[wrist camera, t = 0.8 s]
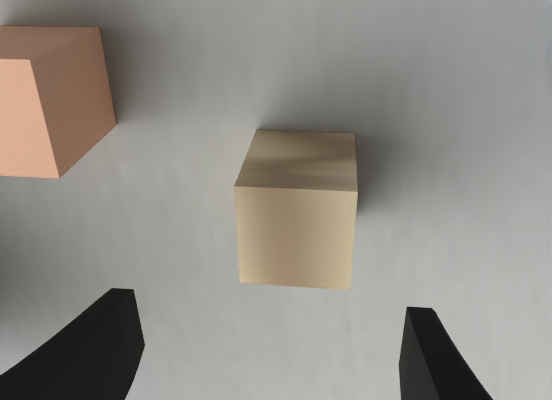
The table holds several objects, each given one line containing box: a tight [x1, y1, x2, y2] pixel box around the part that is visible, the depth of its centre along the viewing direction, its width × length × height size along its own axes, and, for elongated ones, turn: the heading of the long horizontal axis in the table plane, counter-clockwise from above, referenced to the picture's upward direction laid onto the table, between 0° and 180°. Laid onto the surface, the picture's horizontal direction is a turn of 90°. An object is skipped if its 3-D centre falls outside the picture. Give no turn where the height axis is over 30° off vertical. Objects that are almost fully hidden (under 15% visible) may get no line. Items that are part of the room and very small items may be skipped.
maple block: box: [234, 130, 358, 290], centre depth 19 cm, size 4×4×5 cm
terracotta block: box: [0, 26, 116, 178], centre depth 19 cm, size 4×4×5 cm
